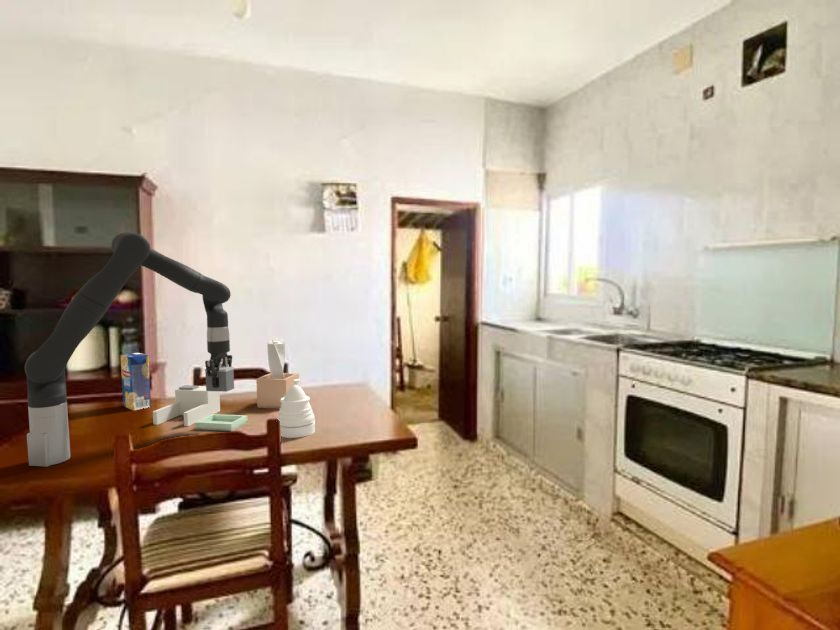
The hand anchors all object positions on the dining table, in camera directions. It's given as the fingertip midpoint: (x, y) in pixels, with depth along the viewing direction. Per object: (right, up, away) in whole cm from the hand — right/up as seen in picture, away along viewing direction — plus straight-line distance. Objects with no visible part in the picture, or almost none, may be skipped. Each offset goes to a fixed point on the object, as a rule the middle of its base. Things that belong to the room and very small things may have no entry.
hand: (220, 385), depth 183 cm
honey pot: (+29, -15, -7) cm, 34 cm away
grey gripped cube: (0, -1, 0) cm, 1 cm away
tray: (0, -15, +1) cm, 15 cm away
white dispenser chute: (-17, -14, +12) cm, 25 cm away
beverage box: (-47, -13, +30) cm, 57 cm away
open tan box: (+13, -12, +31) cm, 36 cm away
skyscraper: (+13, -12, +31) cm, 36 cm away
